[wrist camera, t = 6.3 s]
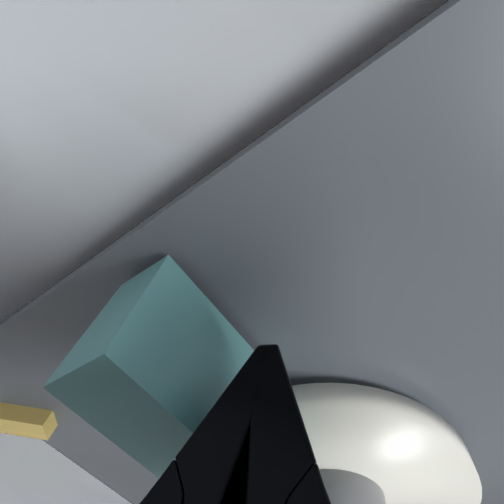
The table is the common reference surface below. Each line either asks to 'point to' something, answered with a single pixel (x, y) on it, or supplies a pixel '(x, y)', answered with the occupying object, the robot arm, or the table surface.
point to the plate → (328, 250)
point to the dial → (217, 380)
